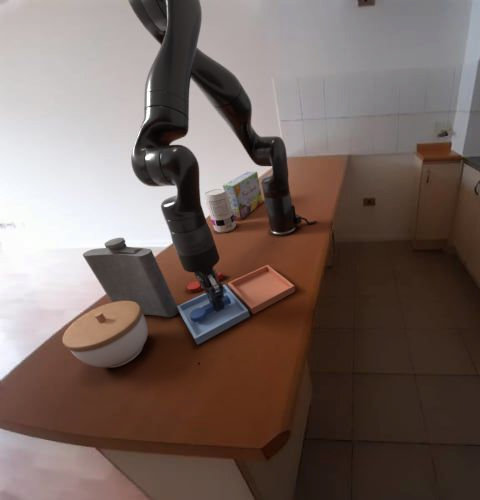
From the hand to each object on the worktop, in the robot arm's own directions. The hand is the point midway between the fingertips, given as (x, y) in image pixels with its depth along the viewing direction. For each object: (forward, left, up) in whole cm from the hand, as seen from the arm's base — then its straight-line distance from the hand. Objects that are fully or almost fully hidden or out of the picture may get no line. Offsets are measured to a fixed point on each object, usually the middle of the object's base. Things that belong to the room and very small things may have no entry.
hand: (218, 306), depth 67 cm
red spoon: (-2, -14, -1) cm, 14 cm away
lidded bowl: (+20, -2, -2) cm, 20 cm away
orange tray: (-12, 0, -1) cm, 12 cm away
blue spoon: (+1, 0, 0) cm, 2 cm away
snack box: (-35, -57, -2) cm, 67 cm away
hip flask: (+13, -13, -2) cm, 18 cm away
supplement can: (-20, -46, -2) cm, 50 cm away
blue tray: (+1, 0, -1) cm, 2 cm away
